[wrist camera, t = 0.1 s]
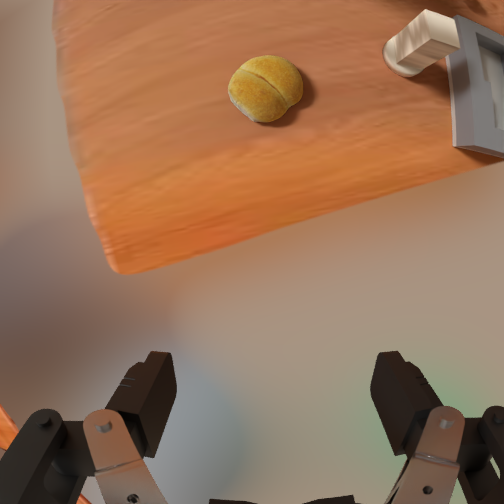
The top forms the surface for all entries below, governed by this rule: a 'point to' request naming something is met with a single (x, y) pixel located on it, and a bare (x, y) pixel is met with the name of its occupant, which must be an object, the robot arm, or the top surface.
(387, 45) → the maple peg
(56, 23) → the top surface
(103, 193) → the top surface
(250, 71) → the bread roll
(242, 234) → the top surface
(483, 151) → the keyhole plate
